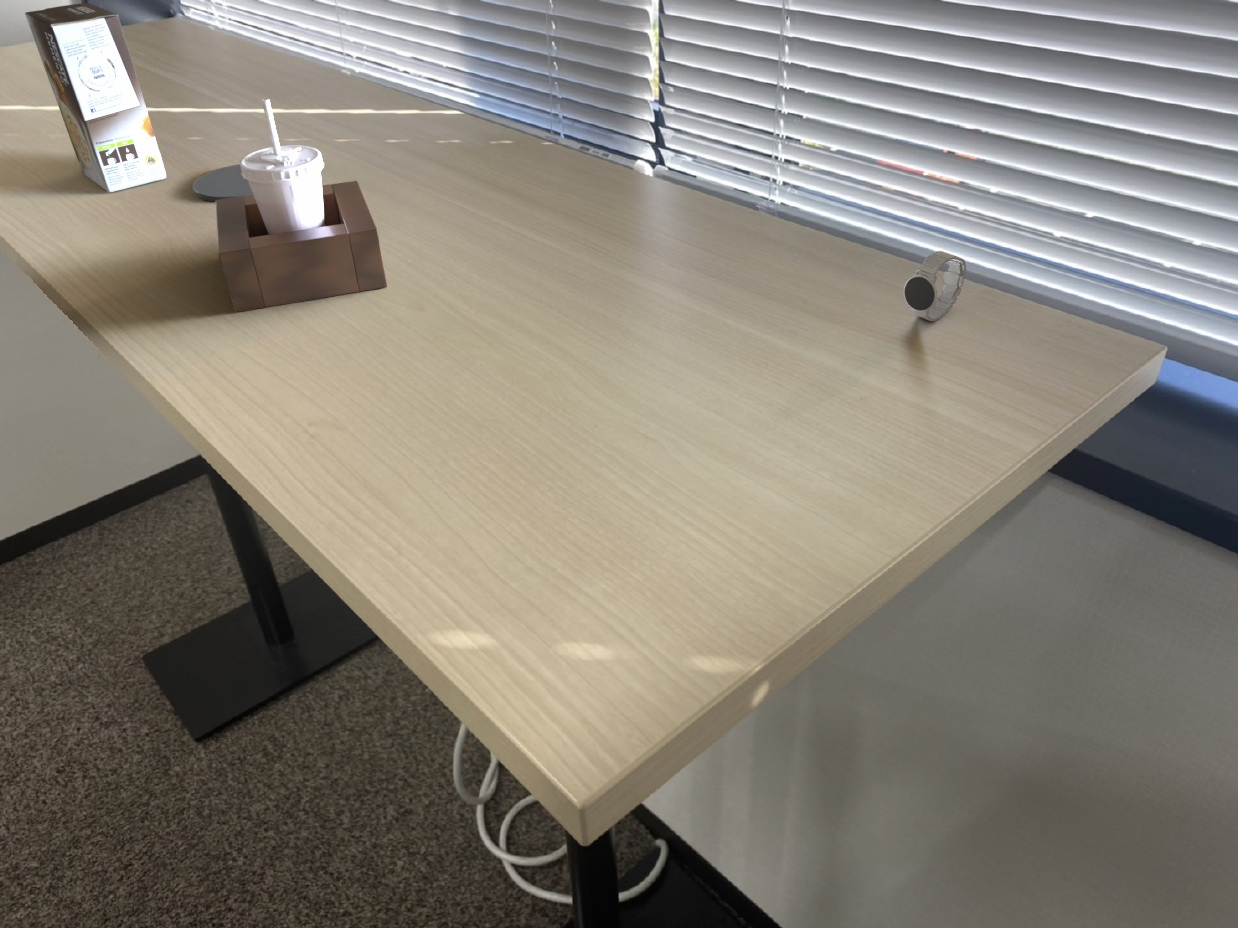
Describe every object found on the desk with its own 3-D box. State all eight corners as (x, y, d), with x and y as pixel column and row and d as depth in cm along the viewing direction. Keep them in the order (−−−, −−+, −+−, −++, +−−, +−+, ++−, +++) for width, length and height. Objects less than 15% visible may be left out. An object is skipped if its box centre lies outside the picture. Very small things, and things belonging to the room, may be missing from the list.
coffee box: (170, 178, 102) (121, 13, 92) (108, 194, 98) (50, 24, 89) (138, 158, 107) (88, 0, 98) (78, 172, 104) (20, 10, 95)
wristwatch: (897, 320, 73) (907, 258, 70) (935, 299, 76) (946, 239, 73) (930, 333, 71) (942, 271, 68) (967, 312, 74) (981, 250, 71)
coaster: (194, 208, 95) (192, 202, 94) (193, 175, 102) (192, 170, 102) (299, 194, 97) (297, 188, 97) (291, 163, 105) (289, 157, 105)
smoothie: (328, 248, 86) (294, 85, 78) (355, 273, 82) (322, 103, 74) (257, 267, 83) (213, 99, 75) (281, 293, 79) (238, 119, 71)
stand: (235, 312, 76) (218, 253, 74) (230, 254, 86) (215, 199, 83) (387, 287, 80) (377, 229, 77) (367, 233, 89) (357, 180, 86)
